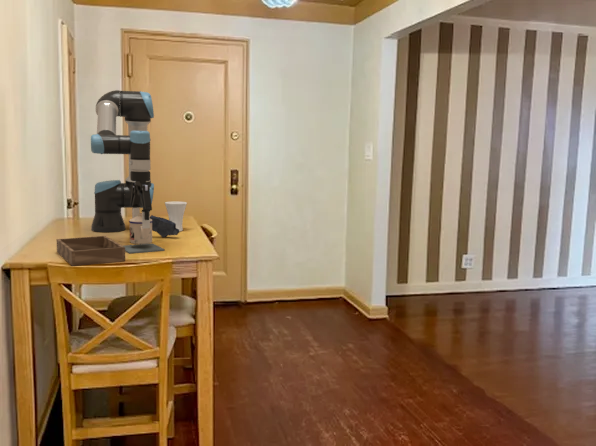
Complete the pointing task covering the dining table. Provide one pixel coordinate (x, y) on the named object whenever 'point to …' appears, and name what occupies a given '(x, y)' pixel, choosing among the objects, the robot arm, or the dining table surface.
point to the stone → (163, 226)
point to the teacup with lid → (140, 231)
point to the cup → (176, 212)
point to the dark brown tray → (90, 250)
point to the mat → (142, 248)
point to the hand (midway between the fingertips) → (141, 226)
